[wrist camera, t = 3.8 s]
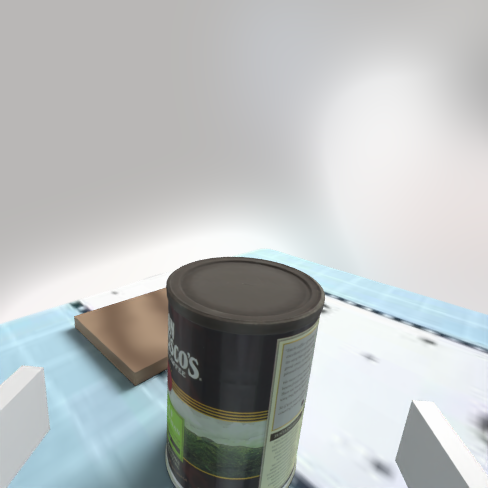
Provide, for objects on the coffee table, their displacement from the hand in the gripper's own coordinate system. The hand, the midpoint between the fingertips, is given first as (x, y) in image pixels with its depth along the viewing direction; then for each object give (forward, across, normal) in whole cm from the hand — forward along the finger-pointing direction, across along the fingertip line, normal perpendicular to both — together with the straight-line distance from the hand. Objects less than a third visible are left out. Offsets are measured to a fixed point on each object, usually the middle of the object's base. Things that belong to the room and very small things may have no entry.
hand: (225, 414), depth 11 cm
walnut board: (+28, -8, -13) cm, 32 cm away
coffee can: (+10, +1, -13) cm, 17 cm away
